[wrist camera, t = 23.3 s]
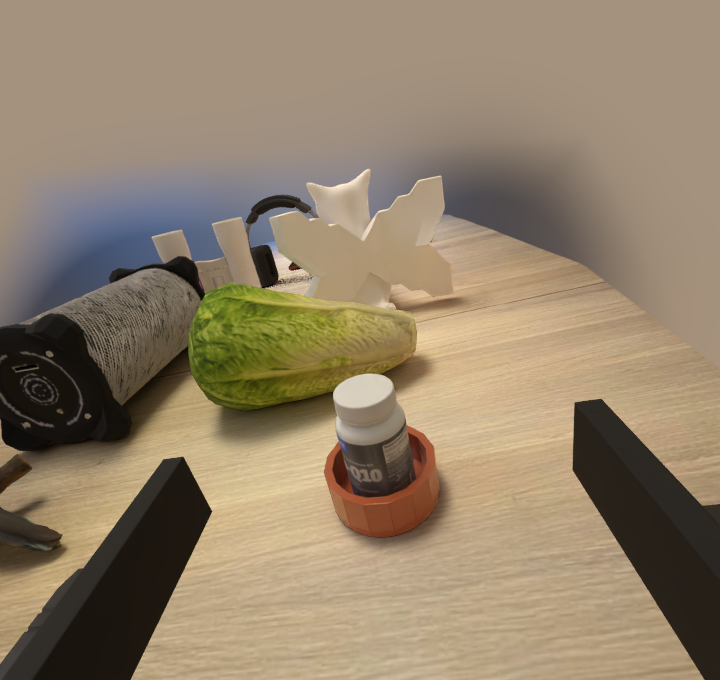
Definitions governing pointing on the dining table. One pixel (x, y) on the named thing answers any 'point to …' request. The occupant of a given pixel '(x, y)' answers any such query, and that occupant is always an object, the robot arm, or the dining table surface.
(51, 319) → the speaker
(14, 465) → the bird figurine
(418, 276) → the white abstract sculpture
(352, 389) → the pill bottle
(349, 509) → the orange cup holder
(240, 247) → the binoculars
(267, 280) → the headphones
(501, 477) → the dining table surface
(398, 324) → the lettuce
